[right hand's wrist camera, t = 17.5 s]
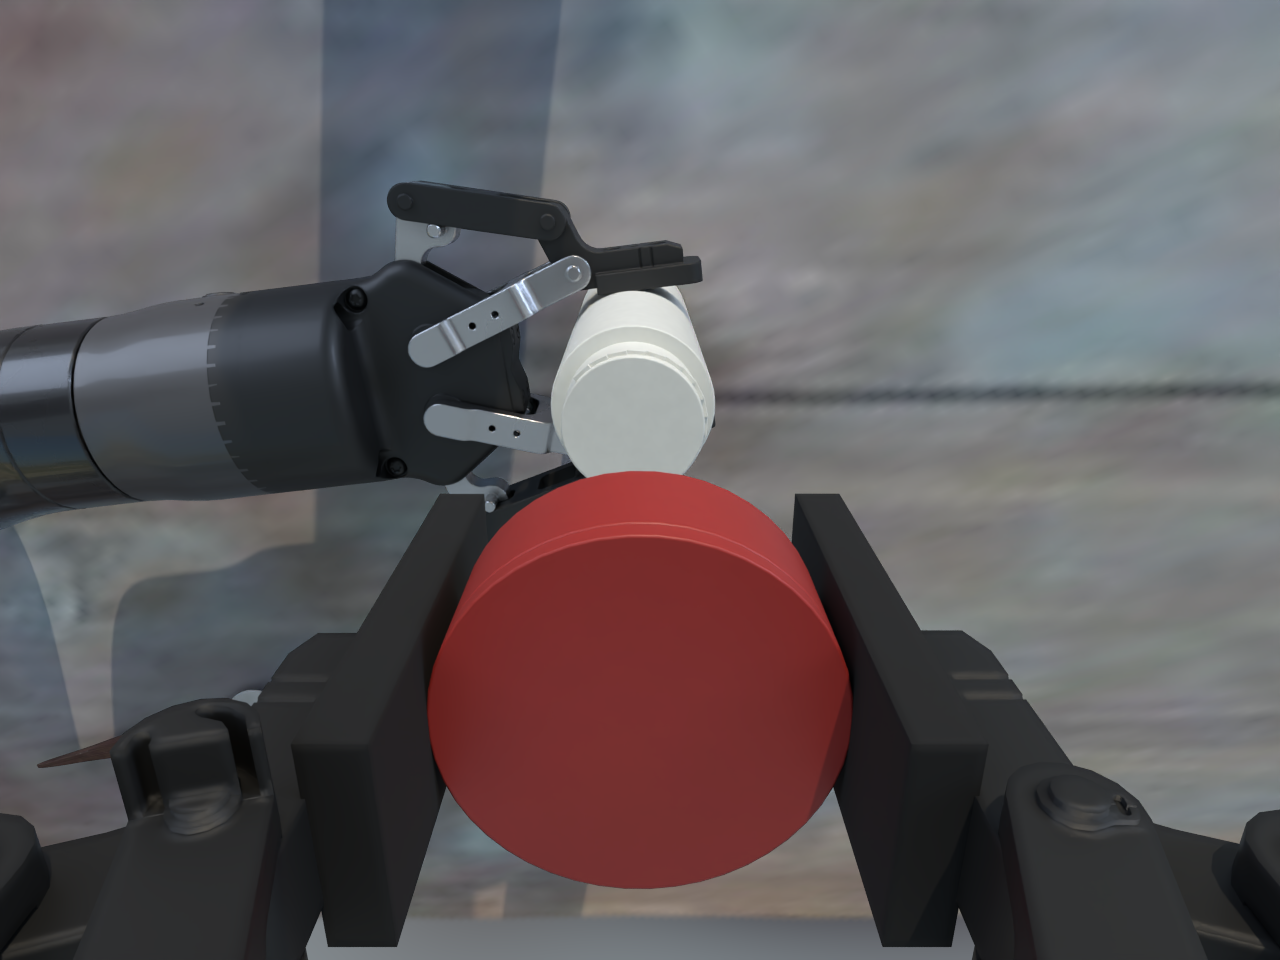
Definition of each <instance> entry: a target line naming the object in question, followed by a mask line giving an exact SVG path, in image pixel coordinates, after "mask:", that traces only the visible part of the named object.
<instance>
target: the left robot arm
mask: <svg viewBox="0 0 1280 960" xmlns="http://www.w3.org/2000/svg"><path fill="white" fill-rule="evenodd" d="M387 204H388V207H389V209H390V211H391V213H392V214H393V215H394V216H395V217H396V237H395V261H393V262H391V263H389V264H387V265H385V266H384V267H383V268H382V269H381V270H379V271H378V272H377V273H375V274H374V275H372V276H368V277H363V278H356V279H348V280H340V281H332V282H324V283H315V284H307V285H299V286H291V287H283V288H275V289H267V290H259V291H251V292H243V293H237V294H236V293H232V292H219V293H211V294H207V295H206V296H203V297H202V298H195V299H188V300H180V301H174V302H168V303H163V304H159V305H155V306H151V307H147V308H144V309H141V310H137V311H133V312H130V313H126V314H121V315H115V316H110V317H103V318H95V319H86V320H78V321H70V322H62V323H54V324H46V325H35V326H27V327H19V328H13V329H6V330H1V331H0V530H1V529H4V528H7V527H9V526H12V525H15V524H18V523H21V522H23V521H26V520H29V519H33V518H36V517H40V516H43V515H47V514H51V513H56V512H62V511H69V510H76V509H85V508H91V507H100V506H108V505H117V504H126V503H134V502H143V501H157V500H187V501H208V500H222V499H230V498H239V497H247V496H256V495H265V494H274V493H283V492H291V491H300V490H309V489H317V488H326V487H335V486H344V485H352V484H361V483H370V482H379V481H386V480H392V479H398V478H405V477H410V478H416V479H421V480H424V481H427V482H429V483H432V484H435V485H442V486H445V487H446V489H447V491H448V493H449V494H484V497H485V511H486V525H487V538H488V543H489V542H490V540H491V539H492V538H493V537H494V535H495V534H496V533H497V532H498V530H499V529H500V528H501V527H502V526H503V525H504V524H505V523H507V522H508V521H509V520H510V519H511V518H512V517H513V516H514V515H515V514H516V513H517V512H519V511H520V510H522V509H523V508H524V507H526V506H527V505H529V504H530V503H531V502H533V501H534V500H536V499H538V498H540V497H541V496H543V495H545V494H547V493H549V492H551V491H553V490H555V489H557V488H559V487H562V486H564V485H567V484H570V483H572V482H575V481H578V480H580V479H585V478H586V477H585V476H584V475H583V474H582V473H581V472H580V471H579V470H578V469H577V468H576V467H575V466H574V464H573V463H572V462H570V463H568V464H565V465H562V466H560V467H557V468H555V469H552V470H549V471H547V472H544V473H541V474H539V475H536V476H533V477H531V478H528V479H525V480H523V481H520V482H517V483H515V484H512V485H509V484H508V483H507V482H506V481H505V480H503V479H501V478H497V477H493V478H488V479H483V478H479V477H477V476H476V475H474V474H473V473H472V472H471V471H472V470H473V469H474V468H475V467H477V466H478V465H479V464H480V463H481V462H482V461H483V460H484V459H485V458H486V457H487V456H488V455H489V454H491V453H492V452H493V451H494V450H495V449H496V448H497V447H498V446H502V447H507V448H512V449H517V450H522V451H527V452H532V453H537V454H546V453H549V452H555V453H560V454H565V455H568V454H567V452H566V450H565V448H564V446H563V445H562V443H561V442H560V439H559V437H558V435H557V433H556V430H555V427H554V425H553V420H552V415H551V397H547V396H542V395H537V394H532V393H530V390H529V384H528V378H527V376H526V373H525V371H524V369H523V367H522V365H521V363H520V360H519V347H520V332H519V326H518V323H519V322H521V321H523V320H525V319H527V318H529V317H531V316H532V315H534V314H535V313H537V312H538V311H540V310H542V309H544V308H546V307H548V306H550V305H552V304H554V303H556V302H558V301H560V300H562V299H564V298H566V297H568V296H570V295H572V294H574V293H576V292H578V291H580V290H588V289H596V288H597V293H598V295H603V294H611V293H618V292H625V291H635V290H644V289H652V288H660V287H668V286H676V285H684V284H692V283H697V282H701V281H703V279H702V268H701V260H700V258H699V257H698V256H686V257H683V249H682V246H681V244H678V243H674V242H671V241H667V240H664V241H656V242H648V243H640V244H632V245H624V246H616V247H608V248H594V247H591V246H589V245H587V244H586V243H585V242H584V241H583V240H582V239H581V237H580V236H579V234H578V232H577V230H576V228H575V226H574V224H573V222H572V220H571V216H570V212H569V210H568V208H567V207H566V205H565V204H563V203H562V202H560V201H557V200H551V199H544V198H537V197H530V196H523V195H516V194H509V193H502V192H495V191H489V190H482V189H475V188H468V187H461V186H454V185H447V184H440V183H433V182H426V181H412V182H404V183H398V184H396V185H394V186H393V187H392V188H391V189H390V191H389V193H388V196H387ZM461 229H468V230H475V231H482V232H489V233H496V234H503V235H510V236H517V237H524V238H531V239H538V240H539V242H540V244H541V246H542V248H543V250H544V252H545V254H546V255H547V257H548V259H549V261H548V262H547V263H545V264H543V265H541V266H539V267H537V268H535V269H533V270H531V271H528V272H526V273H523V274H521V275H519V276H517V277H515V278H513V279H511V280H510V281H508V282H506V283H504V284H502V285H500V286H498V287H496V288H494V289H492V290H490V291H488V292H484V291H482V290H480V289H478V288H476V287H475V286H473V285H471V284H469V283H467V282H465V281H464V280H462V279H460V278H458V277H456V276H454V275H453V274H451V273H449V272H447V271H445V270H443V269H441V268H440V267H438V266H436V265H434V264H432V263H430V262H429V261H427V256H428V253H429V252H430V250H431V249H432V248H433V247H443V246H446V245H449V244H451V243H453V242H454V241H456V240H457V238H458V237H459V235H460V231H461ZM527 408H528V409H529V410H527ZM714 426H715V417H714V420H713V424H712V427H711V428H713V427H714ZM515 430H518V431H519V433H518V432H516V431H515Z"/></svg>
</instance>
